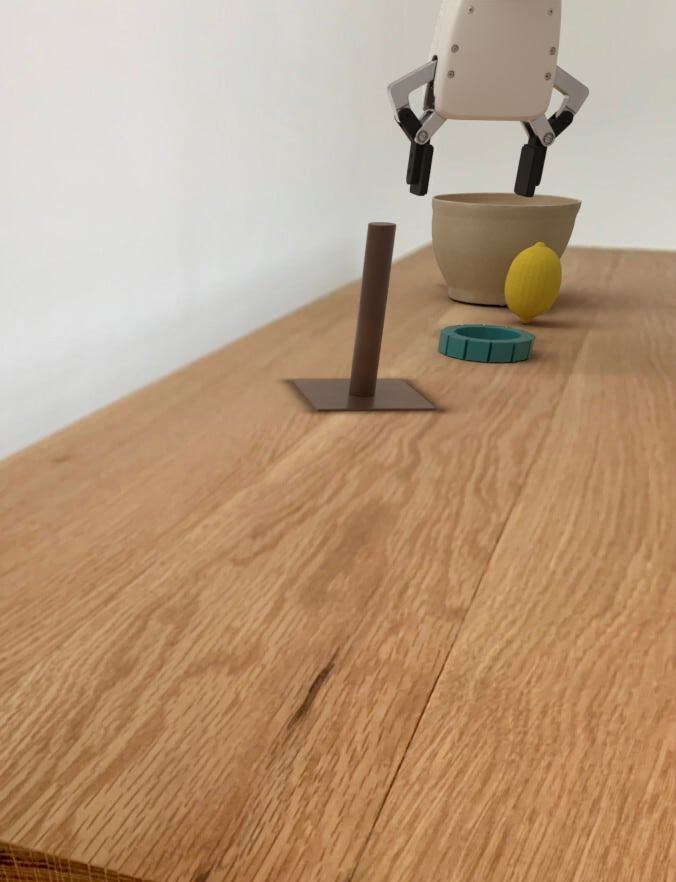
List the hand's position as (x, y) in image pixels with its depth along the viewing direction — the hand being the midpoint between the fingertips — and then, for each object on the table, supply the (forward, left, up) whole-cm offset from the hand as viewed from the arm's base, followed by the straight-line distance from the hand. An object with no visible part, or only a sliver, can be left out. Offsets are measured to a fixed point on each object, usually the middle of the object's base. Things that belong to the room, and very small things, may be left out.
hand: (470, 194), depth 99 cm
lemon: (-13, -13, -14) cm, 23 cm away
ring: (-4, +1, -14) cm, 14 cm away
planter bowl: (-14, -27, -14) cm, 34 cm away
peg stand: (+14, +22, -14) cm, 29 cm away
